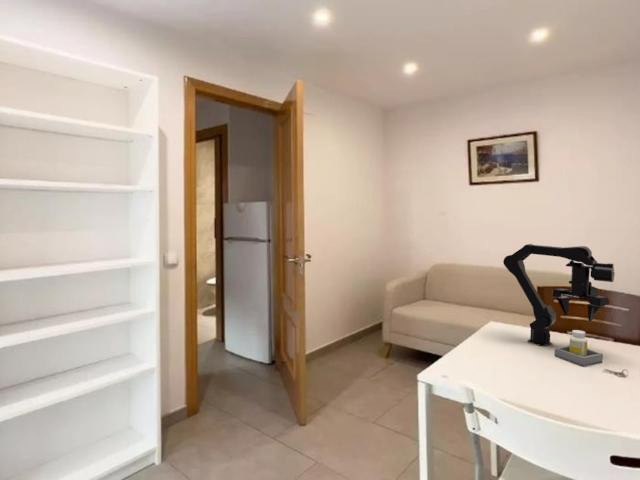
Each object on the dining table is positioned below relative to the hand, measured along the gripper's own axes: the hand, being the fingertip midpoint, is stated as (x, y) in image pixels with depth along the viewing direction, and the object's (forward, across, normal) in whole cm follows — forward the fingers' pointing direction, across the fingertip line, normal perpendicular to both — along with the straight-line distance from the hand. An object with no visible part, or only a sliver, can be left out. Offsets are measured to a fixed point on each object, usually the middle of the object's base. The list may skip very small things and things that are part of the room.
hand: (578, 318), depth 149 cm
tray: (+13, -6, +8) cm, 16 cm away
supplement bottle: (+13, -6, +8) cm, 16 cm away
